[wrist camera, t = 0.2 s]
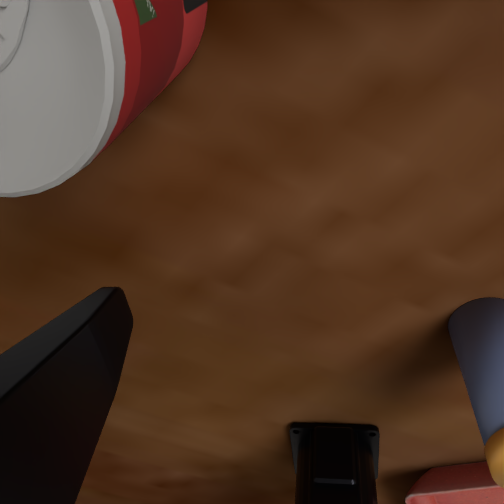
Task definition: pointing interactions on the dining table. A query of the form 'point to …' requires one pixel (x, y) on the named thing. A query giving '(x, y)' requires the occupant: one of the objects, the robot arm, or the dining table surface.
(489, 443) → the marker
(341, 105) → the dining table surface
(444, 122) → the dining table surface
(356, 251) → the dining table surface
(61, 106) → the canned food
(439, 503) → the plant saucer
